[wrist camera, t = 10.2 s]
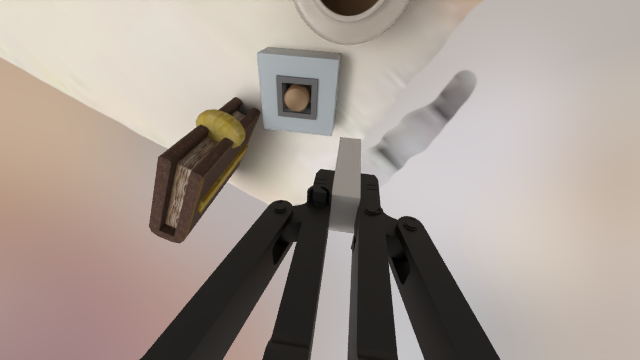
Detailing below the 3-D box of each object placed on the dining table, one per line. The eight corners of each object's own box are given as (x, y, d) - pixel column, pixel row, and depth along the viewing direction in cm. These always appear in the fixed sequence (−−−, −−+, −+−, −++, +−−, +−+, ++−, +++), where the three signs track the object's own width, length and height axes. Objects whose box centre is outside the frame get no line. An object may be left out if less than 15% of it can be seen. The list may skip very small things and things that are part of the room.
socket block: (272, 117, 55) (262, 129, 50) (267, 47, 47) (255, 53, 41) (334, 123, 54) (331, 137, 49) (341, 53, 45) (338, 60, 40)
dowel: (292, 99, 51) (284, 110, 46) (292, 76, 49) (283, 86, 43) (313, 101, 51) (307, 113, 46) (313, 78, 48) (308, 88, 43)
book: (240, 172, 66) (187, 248, 46) (210, 157, 64) (142, 229, 44) (269, 103, 53) (214, 166, 33) (232, 82, 52) (152, 135, 32)
